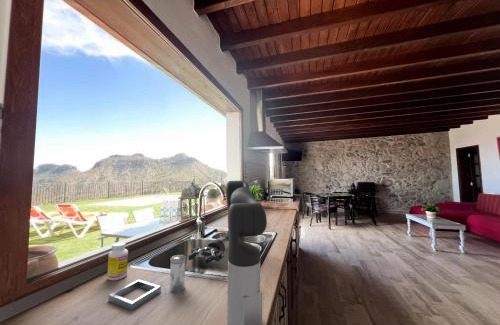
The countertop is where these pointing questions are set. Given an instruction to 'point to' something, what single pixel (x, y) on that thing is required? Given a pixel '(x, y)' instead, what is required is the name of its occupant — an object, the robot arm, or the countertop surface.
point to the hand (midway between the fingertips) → (197, 259)
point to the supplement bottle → (117, 261)
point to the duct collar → (131, 305)
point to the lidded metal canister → (177, 273)
